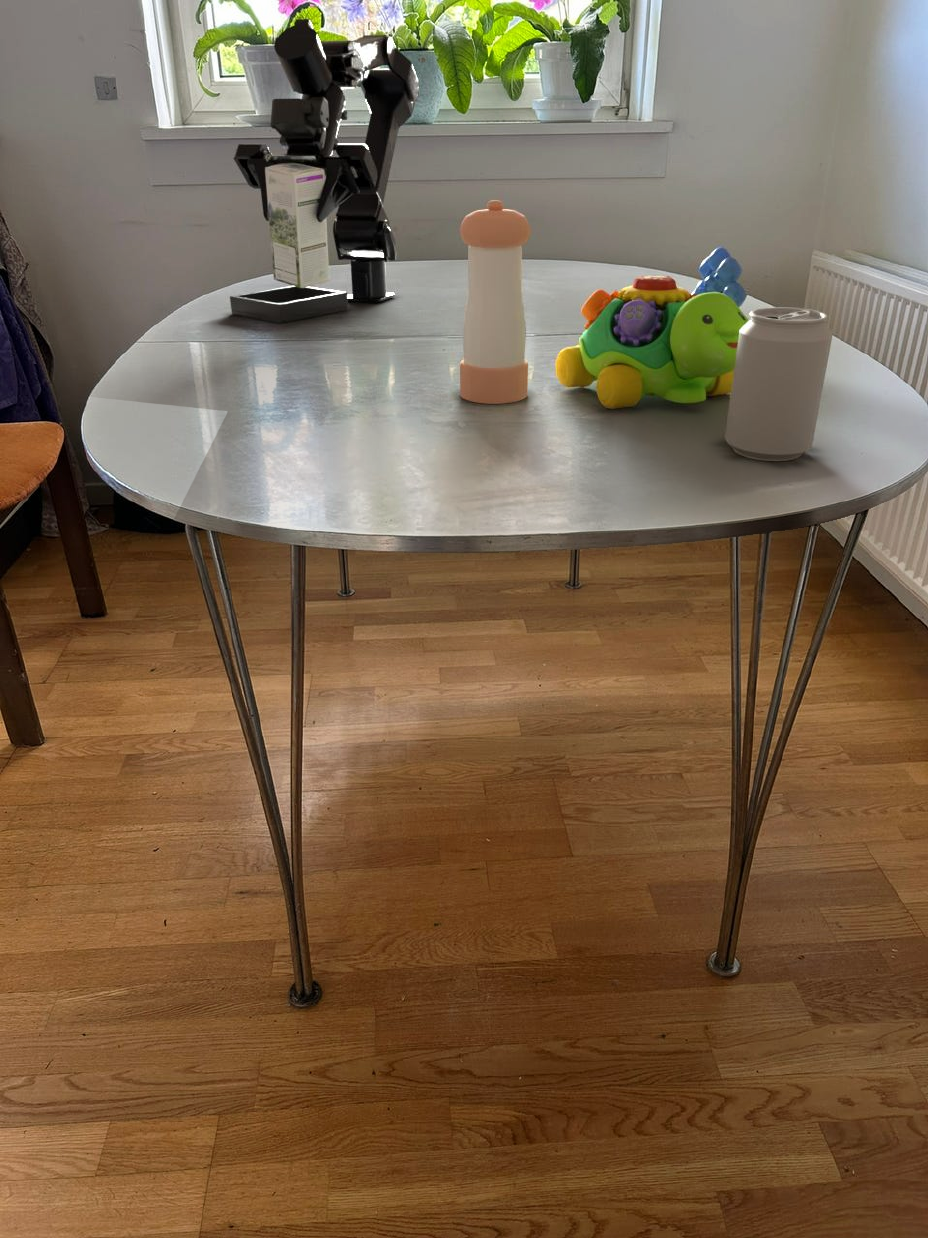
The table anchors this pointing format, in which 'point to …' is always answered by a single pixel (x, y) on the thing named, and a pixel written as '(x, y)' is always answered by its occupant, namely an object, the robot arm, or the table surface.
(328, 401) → the table surface
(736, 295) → the grapes
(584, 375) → the turtle toy
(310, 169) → the syrup box
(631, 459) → the table surface
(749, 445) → the can
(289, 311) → the baking tray
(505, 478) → the table surface
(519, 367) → the pepper shaker
